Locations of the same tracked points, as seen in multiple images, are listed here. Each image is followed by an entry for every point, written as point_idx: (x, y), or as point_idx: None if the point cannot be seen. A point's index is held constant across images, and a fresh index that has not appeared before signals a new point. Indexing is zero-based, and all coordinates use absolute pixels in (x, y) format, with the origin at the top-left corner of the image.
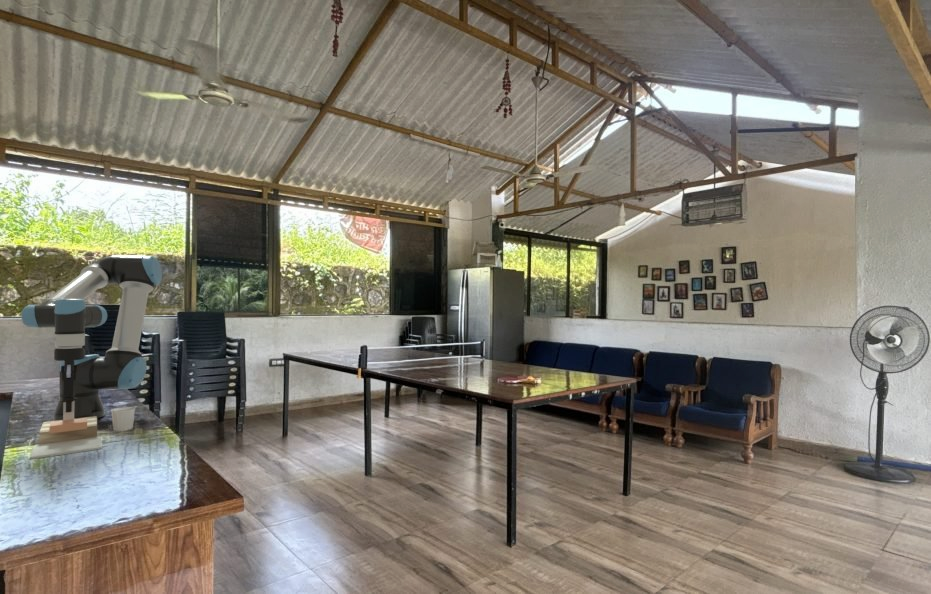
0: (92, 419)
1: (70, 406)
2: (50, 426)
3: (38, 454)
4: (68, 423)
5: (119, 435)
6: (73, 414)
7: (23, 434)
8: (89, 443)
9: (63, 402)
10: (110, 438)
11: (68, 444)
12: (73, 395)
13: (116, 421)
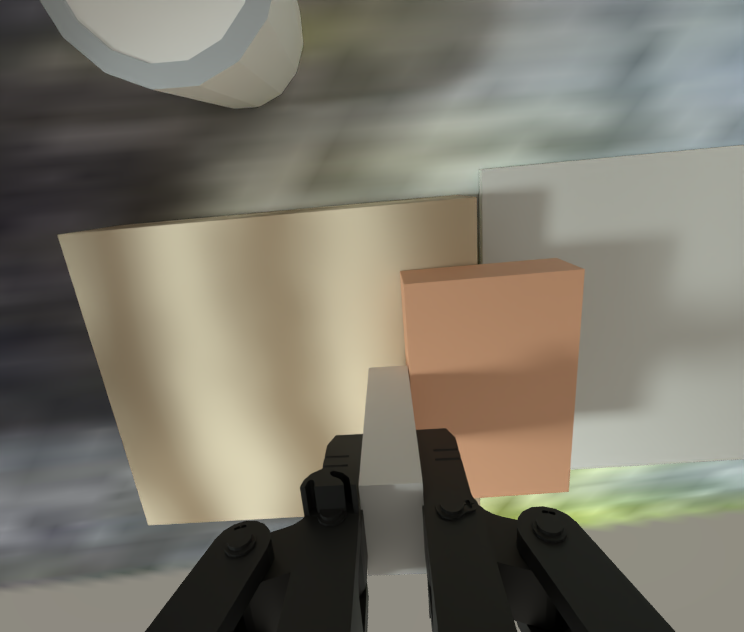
0: (195, 253)
1: (461, 473)
2: (567, 484)
3: (720, 433)
4: (555, 393)
5: (460, 48)
6: (411, 399)
7: (145, 543)
8: (652, 221)
9: (425, 569)
10: (520, 106)
11: (589, 330)
12: (617, 572)
13: (282, 58)
